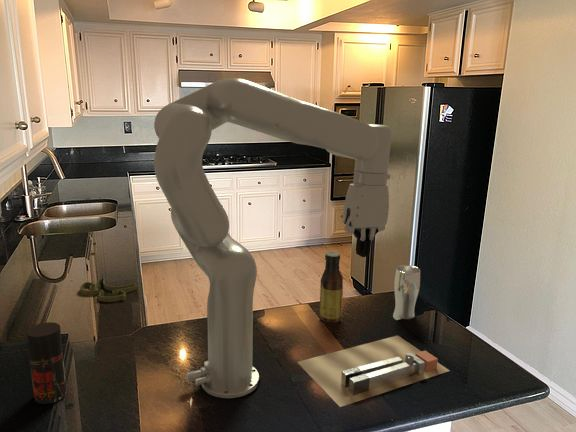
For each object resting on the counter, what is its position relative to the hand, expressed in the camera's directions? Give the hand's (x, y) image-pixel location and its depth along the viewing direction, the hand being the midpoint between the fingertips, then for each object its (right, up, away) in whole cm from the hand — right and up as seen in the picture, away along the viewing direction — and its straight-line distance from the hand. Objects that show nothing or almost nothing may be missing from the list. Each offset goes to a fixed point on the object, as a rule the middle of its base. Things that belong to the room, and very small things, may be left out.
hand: (362, 255), depth 111 cm
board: (+2, -26, -3) cm, 27 cm away
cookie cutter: (-74, -15, +35) cm, 84 cm away
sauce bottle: (-6, -20, +21) cm, 30 cm away
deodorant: (-66, -28, -15) cm, 74 cm away
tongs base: (+3, -27, -9) cm, 28 cm away
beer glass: (+16, -20, +23) cm, 35 cm away
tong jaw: (+1, -26, -8) cm, 28 cm away
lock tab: (+14, -25, -3) cm, 29 cm away
